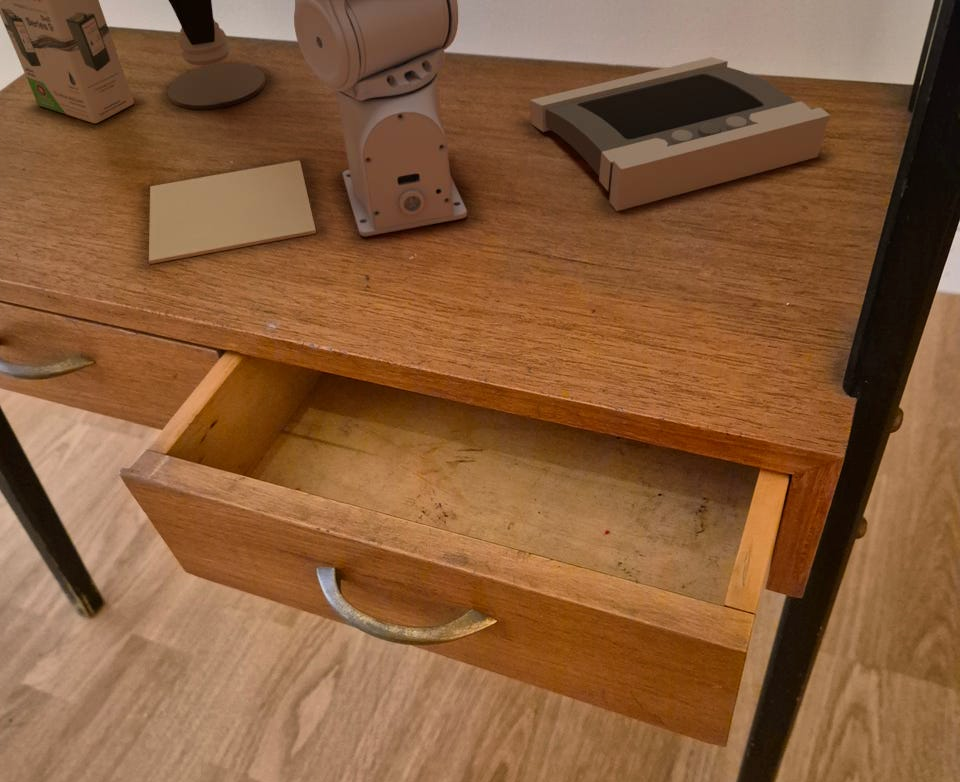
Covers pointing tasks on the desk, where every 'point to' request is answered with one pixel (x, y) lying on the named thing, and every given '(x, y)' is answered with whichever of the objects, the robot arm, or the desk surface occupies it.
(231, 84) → the slate coaster
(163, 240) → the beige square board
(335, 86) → the robot arm
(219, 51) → the rook chess piece
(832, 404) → the desk surface
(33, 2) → the ink box
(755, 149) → the alarm clock
